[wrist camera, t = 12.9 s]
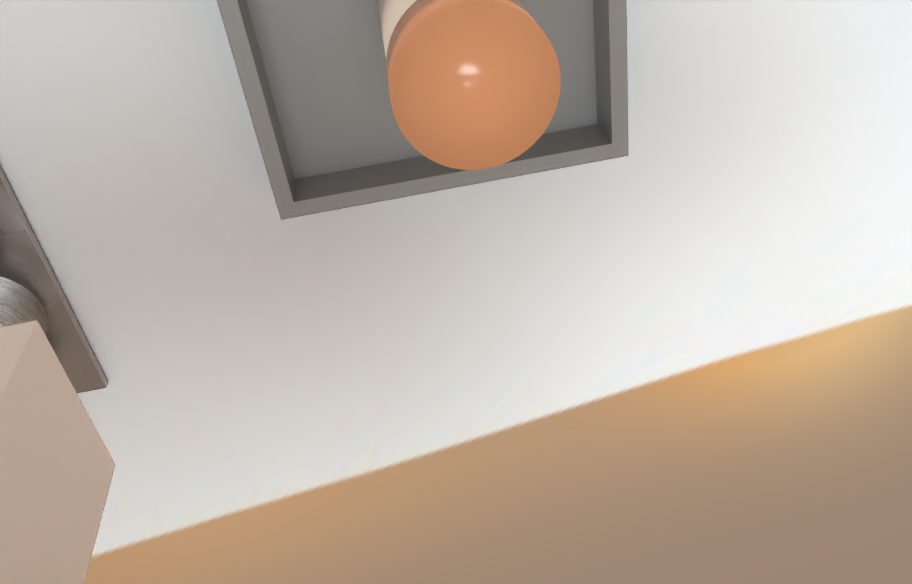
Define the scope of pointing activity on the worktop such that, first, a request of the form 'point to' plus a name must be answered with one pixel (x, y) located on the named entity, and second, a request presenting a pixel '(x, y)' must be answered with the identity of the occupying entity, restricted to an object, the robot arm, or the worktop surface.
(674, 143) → the worktop surface
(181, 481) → the worktop surface
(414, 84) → the cylinder
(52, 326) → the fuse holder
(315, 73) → the tray
